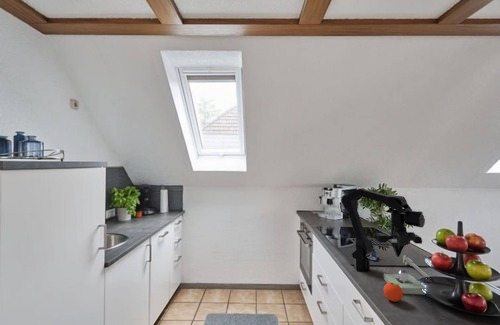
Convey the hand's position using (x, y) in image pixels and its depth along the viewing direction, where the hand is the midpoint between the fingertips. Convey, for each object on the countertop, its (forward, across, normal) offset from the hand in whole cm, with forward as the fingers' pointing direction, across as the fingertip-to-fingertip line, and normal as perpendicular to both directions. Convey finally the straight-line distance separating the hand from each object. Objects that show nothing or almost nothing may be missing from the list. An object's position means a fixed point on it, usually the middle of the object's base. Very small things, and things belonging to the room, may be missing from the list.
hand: (397, 256), depth 122 cm
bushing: (+12, +1, -5) cm, 13 cm away
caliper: (+12, +14, +13) cm, 23 cm away
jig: (+12, +1, -5) cm, 13 cm away
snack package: (+13, -2, +31) cm, 34 cm away
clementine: (+12, -8, -18) cm, 23 cm away
